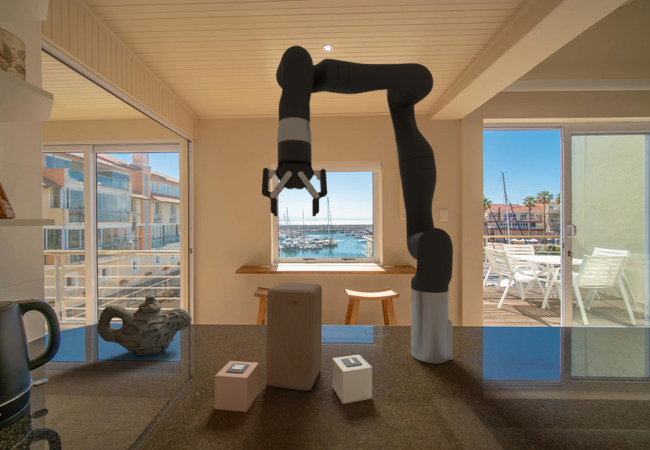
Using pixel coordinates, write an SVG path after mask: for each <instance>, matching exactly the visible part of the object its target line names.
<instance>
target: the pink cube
mask: <svg viewBox="0 0 650 450" xmlns="http://www.w3.org/2000/svg"><path fill="white" fill-rule="evenodd" d="M259 365H260V362H250V361H239V360H238V361H235V360H229V361H228V362H226V364H225V365H224V366H223V367H222V368H221V369H219V371H218V372H217V373H216V374H215V376H214V410H223V411H232V412H233V411H235V412H243V413H244V412H245V413H246V412H248V410H249V409H250V407H251V406H252V404H253V403H254V401H255V399H256V398H257V396H258V394H259V392H260V391H259V390H260V389H259V384H260V383H259V381H260V379H259V378H260V377H259V376H260V373H259V372H260V370H259V369H260V366H259Z"/></svg>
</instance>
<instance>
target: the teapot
mask: <svg viewBox="0 0 650 450" xmlns="http://www.w3.org/2000/svg"><path fill="white" fill-rule="evenodd" d="M155 299H156V296H155V295H154V296H153V295H146V296H145V299H144V302H142V303H140V304H139V305H138V308H137V309H136V312H132V311H130V310H128V309H127V308H124V307H122V306H121V305H108V306H106V307H105V308H104V309H102V311H101V313H100V315H99V317H98V321H97V326H96V327H97V328H96V330H97V333H98V335H99V337H100V338H101V339H102V340H103V341H104V342H109V343H114V344H118V345H119V346H121V347H123V348H124V349H126V350H127V351H128V352H131V353H132V354H135V355H137V356H154V355H158V354H159V353H160V352H161V351H162V350H166V349H168V348H169V347H170V346H171V343H172V342H173V341H174V340H175V339H174V337H175V335H176V334H177V333H178V332H180V331H183V330H186V329H187V328H188V327H189V326H191V325H192V320H193V317H192V315H191V314H190V312H188V311H187V310H186V309H184V308H181V307H180V308H178V307H176V308H172V309H168V310H166V311H162V310H161V309H162V304H161V303H160V302H158V301H156V300H155ZM113 318H119V319H120V320H121V321H122V326H121V327H119V328H116V327H113V326H112V325H111V322H112V319H113Z"/></svg>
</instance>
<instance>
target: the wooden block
mask: <svg viewBox="0 0 650 450" xmlns="http://www.w3.org/2000/svg"><path fill="white" fill-rule="evenodd" d="M266 296H267V297H266V351H265V353H266V355H265V357H266V358H265V359H266V360H265V362H266V363H265V364H266V366H265V367H266V368H265V383H266V386H269V387H274V388H283V389H291V390H298V391H299V390H300V391H307V392H308V391H311V390H312V389H313V386H314V385H315V381H316V380H317V377H318V376H319V374H320V371H321V369H322V327H323V325H322V314H323V313H322V309H323V307H322V306H323V305H322V304H323V301H322V299H323V298H322V297H323V288H322V285H321V284H320V283H308V282H307V283H306V282H285V281H284V282H282V283H280V284H278V285H276V286H274V287H272V288H270V289H268V290H267V293H266Z"/></svg>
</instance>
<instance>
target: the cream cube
mask: <svg viewBox="0 0 650 450" xmlns="http://www.w3.org/2000/svg"><path fill="white" fill-rule="evenodd" d="M331 367H332V368H331V369H332V371H331V374H332V375H331V376H332V377H331V378H332V379H331V380H332V382H331V384H332V389H333V391H334V392H335V394H336V395H337V397H338V399H339V400H340V402H341V403H342V404H343V405H344V404H348V403H349V404H350V403H355V402H359V401H360V402H361V401H364V400H365V401H366V400H372V399H373V366H372V365H370V364H369V363H368V361H366V359H364V358H363V357H362V356H361V355H360V354H353V355H347V356H338V357H332V366H331Z"/></svg>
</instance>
